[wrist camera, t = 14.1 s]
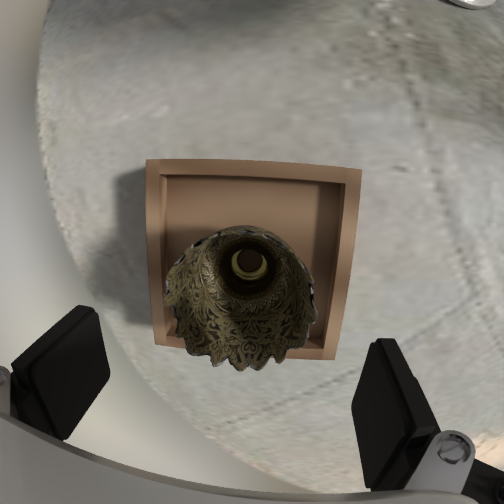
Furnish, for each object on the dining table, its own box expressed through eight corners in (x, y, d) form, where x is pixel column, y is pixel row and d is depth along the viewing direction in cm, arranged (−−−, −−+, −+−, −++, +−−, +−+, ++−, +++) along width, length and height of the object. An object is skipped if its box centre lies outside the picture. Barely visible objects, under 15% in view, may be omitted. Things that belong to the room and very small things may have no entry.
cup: (188, 217, 22) (145, 245, 14) (294, 200, 21) (307, 219, 13) (210, 313, 24) (184, 377, 16) (307, 301, 23) (322, 364, 15)
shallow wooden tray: (172, 159, 25) (145, 159, 19) (344, 167, 24) (362, 169, 18) (175, 313, 29) (155, 344, 23) (325, 325, 28) (334, 360, 22)
